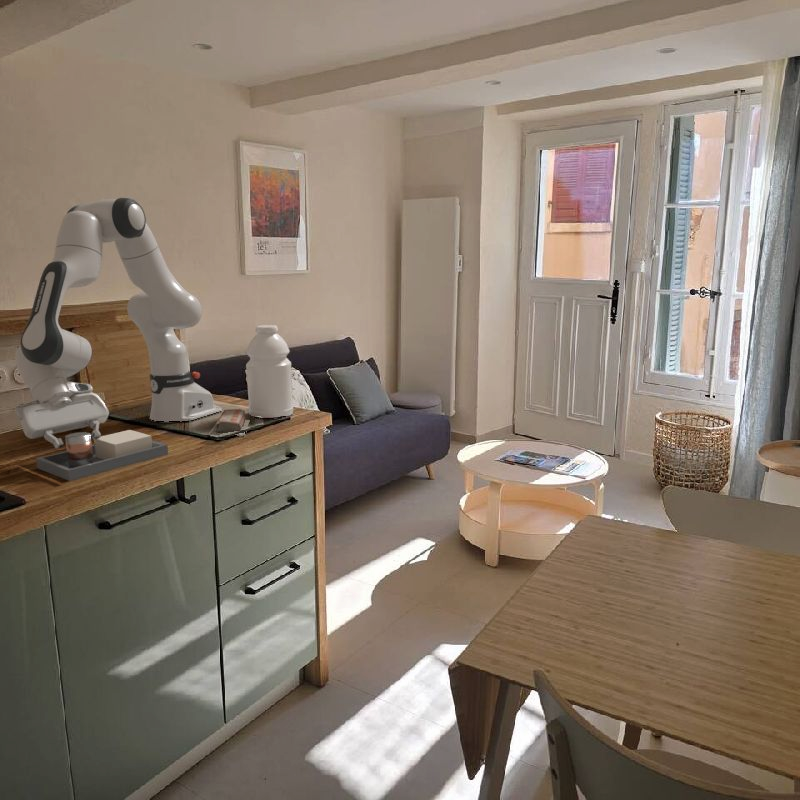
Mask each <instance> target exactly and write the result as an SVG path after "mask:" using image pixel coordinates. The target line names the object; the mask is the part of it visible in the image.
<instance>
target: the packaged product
mask: <svg viewBox="0 0 800 800" xmlns="http://www.w3.org/2000/svg"><path fill="white" fill-rule="evenodd" d="M245 419H246V410H245V409H241V408H238V409H236V408H233V409H232V408H230V409H224V410H222V413H221V415H220V417H219V418H218V419H217V421H216V422H215V424H214V425H213V427H212V428H211V430H210V432H209V433H208V436H209V435H220V434H223V433H228V432H234V431H240V430H241V429H242V427H243V426H244V423H245ZM235 435H237V436H244V435H245V436H246V434H245V432H244V433H239V434H235ZM245 436H244V437H245Z"/></svg>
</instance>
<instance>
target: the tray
mask: <svg viewBox="0 0 800 800" xmlns="http://www.w3.org/2000/svg"><path fill="white" fill-rule="evenodd" d="M92 450H93V461H94V463H91V464H87V465H83V466H79V467H75V468H71V469H70V468H69V463H68V457H67V450H65V451H60V452H57V453H52V454H48V455H45V456H39V457H36V458H35V460H36V468H37V469H38V470H41V471H43V472H46V473H48V474H51V475H53V476H56V477H59V478H61V479H64V480H65V481H68V482H72V481H76V480H79V479H82V478H87V477H90V476H95V475H97V474H100V473H101V474H102V473H105V472H109V471H112V470H116V469H120V468H122V467H123V468H124V467H127V466H131V465H135V464H139V463H141V462H145V461H149V460H153V459H156V458H159V457H164V456H167V455H169V448H168V444H165V443H163V442H160V441H159V442H158V441H155V440H152V448H149V449H145V450H141V451H137V452H133V453H129V454H125V455H122V456H118V457H114V458H110V459H106V460H104V459H101V458H98V457H96V451H95V443H94V444H92Z"/></svg>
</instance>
